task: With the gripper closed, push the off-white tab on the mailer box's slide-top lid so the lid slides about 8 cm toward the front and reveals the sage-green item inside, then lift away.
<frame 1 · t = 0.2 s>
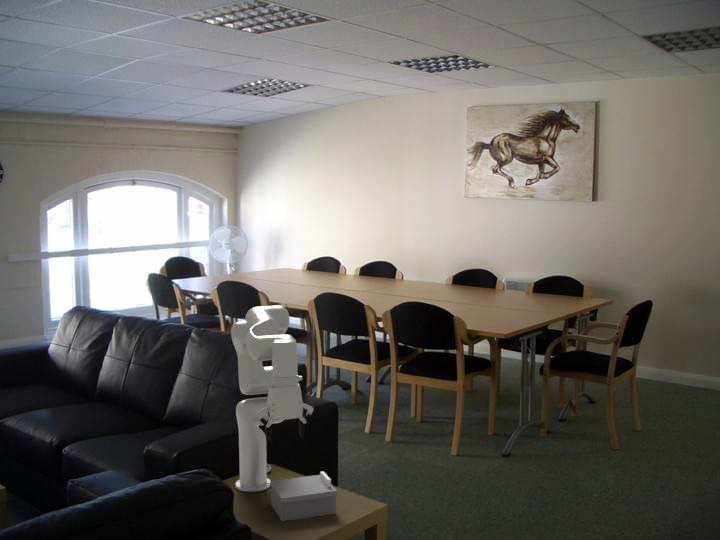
hand: (285, 437, 223), 31 cm above the table, fingers open, 9 cm apart
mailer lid: (302, 484, 246), point 8 cm above the table, slide at 0.0 cm
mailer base: (303, 509, 247), on the table
ceramic mug: (256, 472, 282), on the table
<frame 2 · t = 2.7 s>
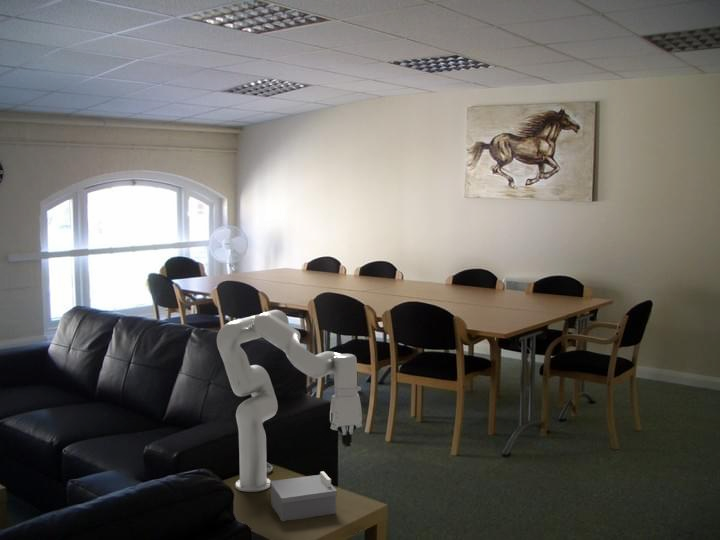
hand: (346, 445, 250), 20 cm above the table, fingers closed
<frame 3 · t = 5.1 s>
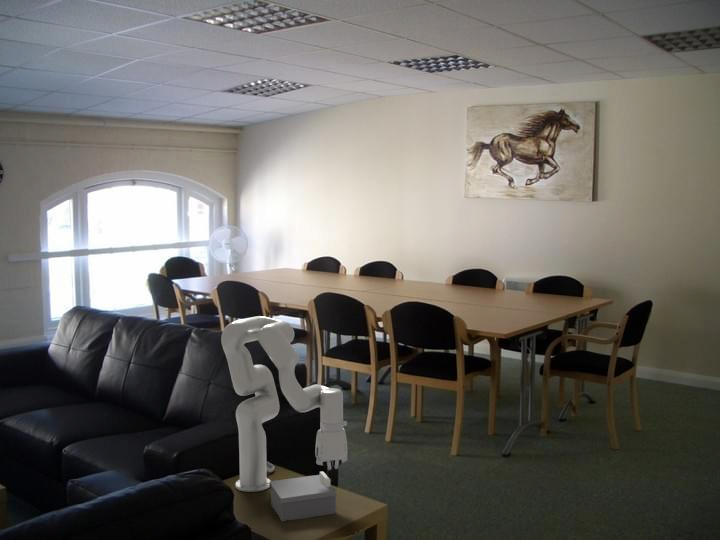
hand: (331, 479, 250), 9 cm above the table, fingers closed
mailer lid: (302, 484, 246), point 8 cm above the table, slide at 0.2 cm, touching gripper
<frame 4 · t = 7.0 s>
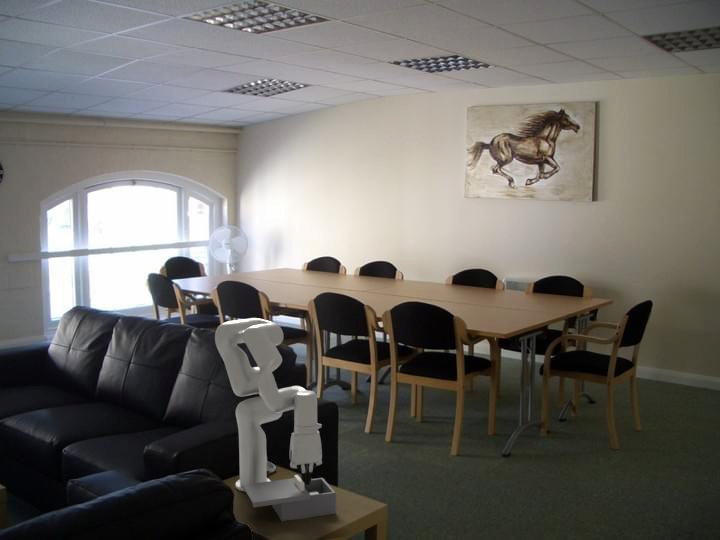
hand: (306, 483, 247), 9 cm above the table, fingers closed
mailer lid: (275, 488, 243), point 8 cm above the table, slide at 9.1 cm, touching gripper
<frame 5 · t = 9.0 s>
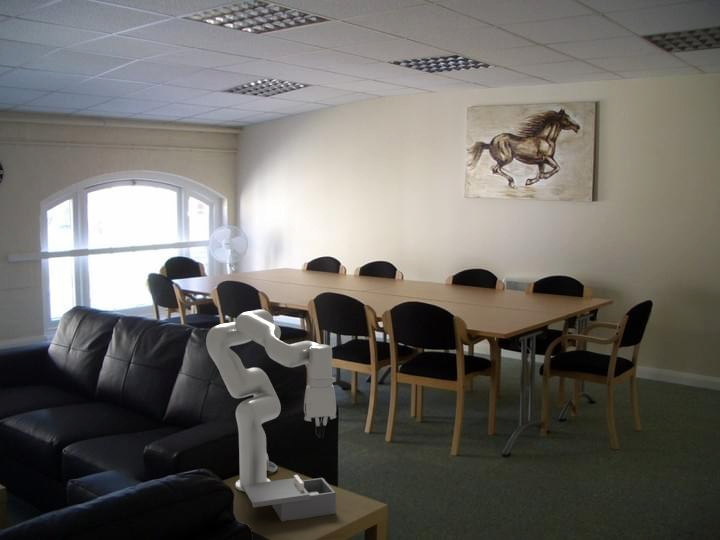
hand: (320, 436, 248), 24 cm above the table, fingers closed
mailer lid: (275, 488, 243), point 8 cm above the table, slide at 9.2 cm
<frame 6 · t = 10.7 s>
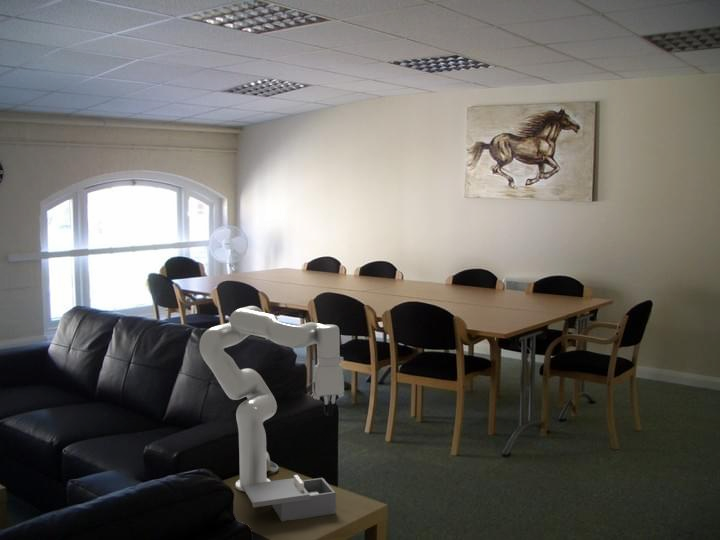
hand: (328, 414, 254), 29 cm above the table, fingers closed
at the end: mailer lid slide at 9.2 cm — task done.
